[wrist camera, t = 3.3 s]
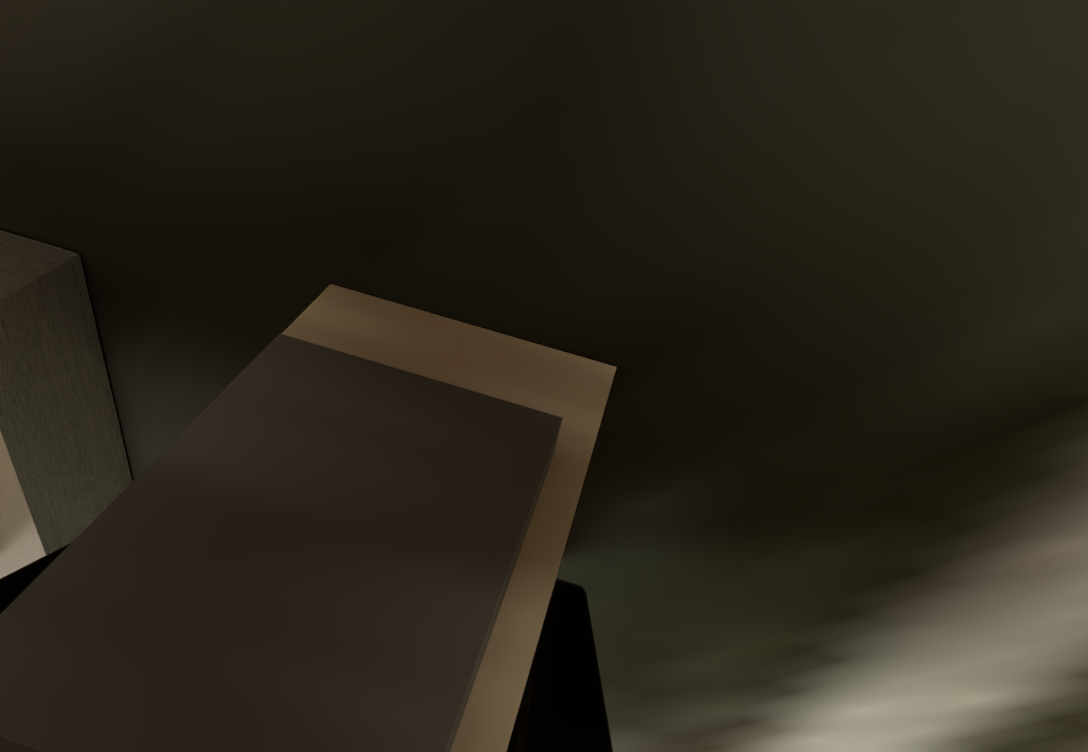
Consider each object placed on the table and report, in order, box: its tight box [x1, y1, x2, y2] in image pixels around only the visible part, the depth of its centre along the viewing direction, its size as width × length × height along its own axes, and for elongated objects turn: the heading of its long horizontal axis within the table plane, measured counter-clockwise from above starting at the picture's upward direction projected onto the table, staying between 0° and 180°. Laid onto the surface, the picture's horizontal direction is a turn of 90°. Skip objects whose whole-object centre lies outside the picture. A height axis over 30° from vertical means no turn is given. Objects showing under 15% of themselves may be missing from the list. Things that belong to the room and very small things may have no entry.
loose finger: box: [0, 284, 617, 752], centre depth 8 cm, size 4×5×7 cm
